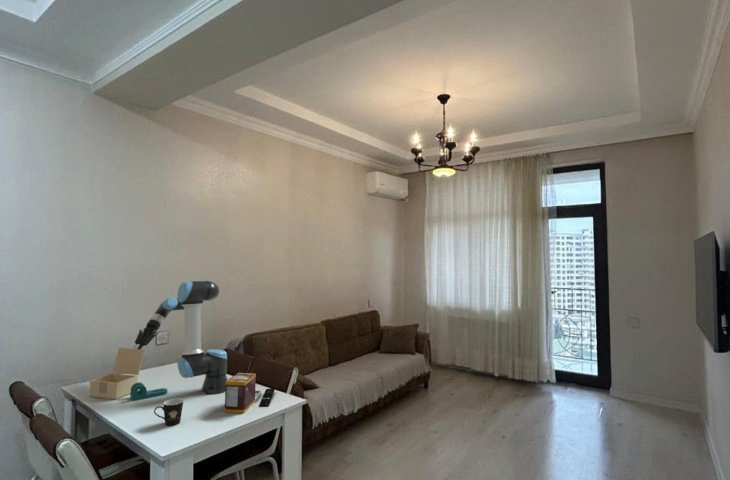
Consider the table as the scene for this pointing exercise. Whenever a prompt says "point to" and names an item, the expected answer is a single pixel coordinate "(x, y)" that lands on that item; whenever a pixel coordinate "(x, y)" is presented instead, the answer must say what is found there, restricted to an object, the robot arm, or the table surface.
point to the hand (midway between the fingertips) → (133, 354)
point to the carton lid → (128, 361)
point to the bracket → (145, 392)
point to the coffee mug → (171, 411)
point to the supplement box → (240, 392)
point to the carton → (112, 386)
